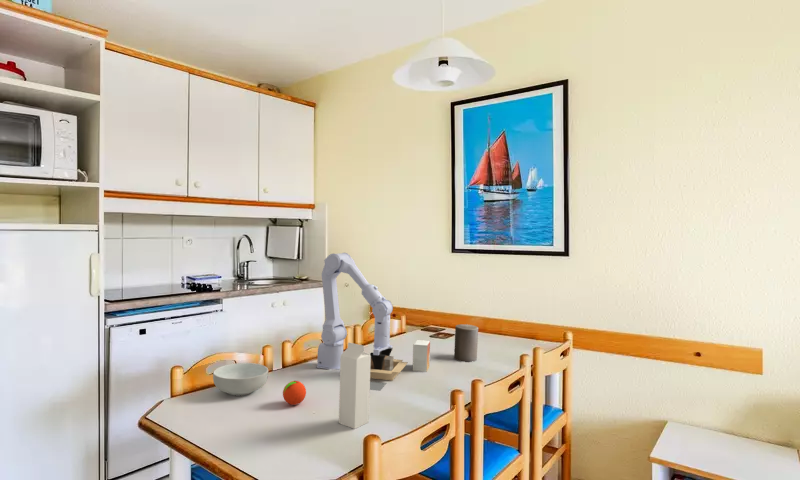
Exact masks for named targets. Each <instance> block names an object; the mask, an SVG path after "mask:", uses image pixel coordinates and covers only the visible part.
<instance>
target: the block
mask: <svg viewBox="0 0 800 480" xmlns="http://www.w3.org/2000/svg"><path fill="white" fill-rule="evenodd" d="M394 357H395V356H392V355H390V356H385V358H384V361H383V366H382V370H386V371H392V370H393V359H394ZM370 369H374V364H373V361H372V359H371V363H370Z"/></svg>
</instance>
